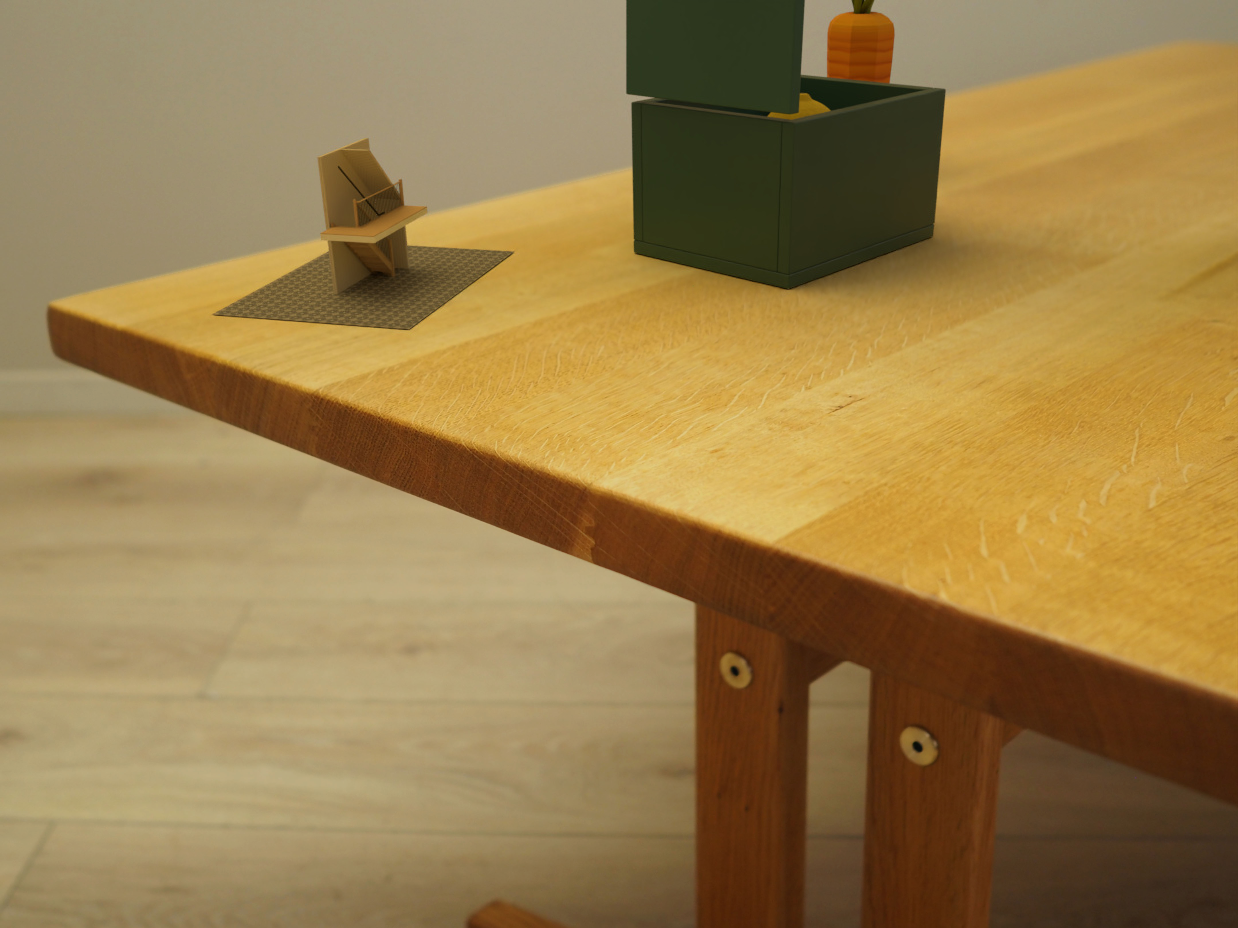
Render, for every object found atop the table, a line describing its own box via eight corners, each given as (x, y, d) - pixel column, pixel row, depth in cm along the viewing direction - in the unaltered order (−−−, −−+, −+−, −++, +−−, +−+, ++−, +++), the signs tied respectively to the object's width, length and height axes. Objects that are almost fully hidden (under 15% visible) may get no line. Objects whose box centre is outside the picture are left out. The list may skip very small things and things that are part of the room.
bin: (783, 208, 85) (787, 73, 81) (933, 236, 77) (946, 88, 74) (633, 253, 75) (630, 102, 72) (788, 289, 68) (794, 123, 64)
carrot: (831, 163, 98) (841, -44, 92) (893, 168, 96) (908, -44, 90) (810, 176, 94) (820, -40, 88) (876, 181, 92) (890, -40, 86)
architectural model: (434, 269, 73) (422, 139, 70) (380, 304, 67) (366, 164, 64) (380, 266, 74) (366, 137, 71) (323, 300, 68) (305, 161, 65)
